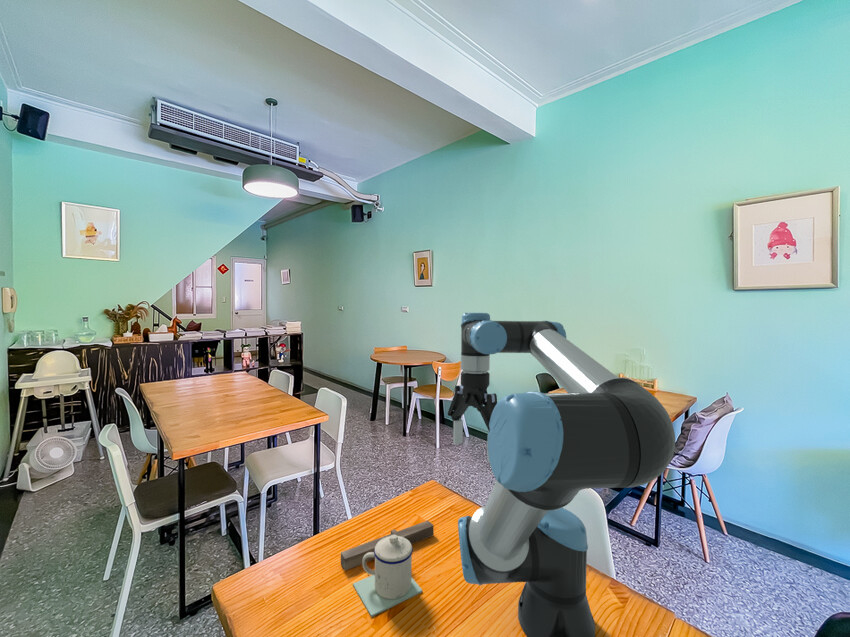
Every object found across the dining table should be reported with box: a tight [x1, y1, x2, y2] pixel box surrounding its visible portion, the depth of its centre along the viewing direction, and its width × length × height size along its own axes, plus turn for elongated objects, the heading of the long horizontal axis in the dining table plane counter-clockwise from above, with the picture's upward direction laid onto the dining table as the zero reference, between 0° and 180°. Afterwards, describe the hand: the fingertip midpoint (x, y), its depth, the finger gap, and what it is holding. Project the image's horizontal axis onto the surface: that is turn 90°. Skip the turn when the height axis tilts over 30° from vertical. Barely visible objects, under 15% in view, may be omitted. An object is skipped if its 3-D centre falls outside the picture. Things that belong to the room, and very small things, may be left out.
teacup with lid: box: [361, 535, 414, 599], centre depth 83 cm, size 12×9×12 cm
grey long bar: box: [340, 520, 435, 572], centre depth 95 cm, size 8×27×6 cm, turn 123°
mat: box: [352, 575, 423, 618], centre depth 83 cm, size 10×13×1 cm
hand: (474, 451), depth 93 cm, fingers open, 13 cm apart
